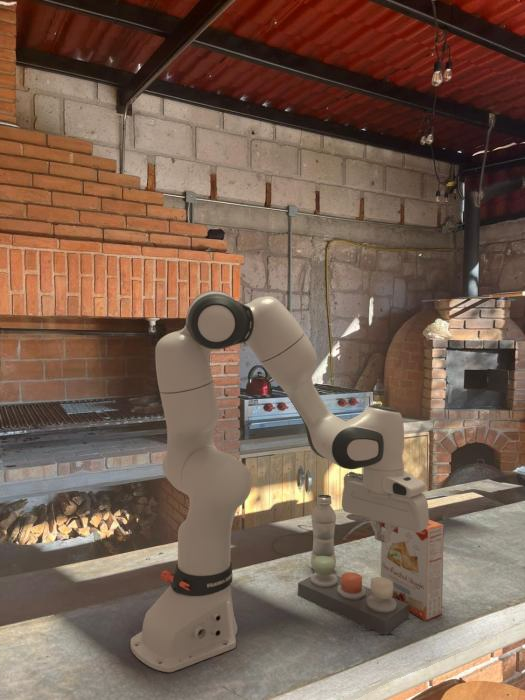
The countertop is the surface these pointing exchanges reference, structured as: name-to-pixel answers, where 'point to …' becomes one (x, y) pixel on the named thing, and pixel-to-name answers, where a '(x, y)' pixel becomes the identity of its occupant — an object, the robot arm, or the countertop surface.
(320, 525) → the plastic bottle
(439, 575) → the cracker box
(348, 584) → the button orange
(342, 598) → the button panel
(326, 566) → the button sage
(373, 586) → the button cream
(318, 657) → the countertop surface
